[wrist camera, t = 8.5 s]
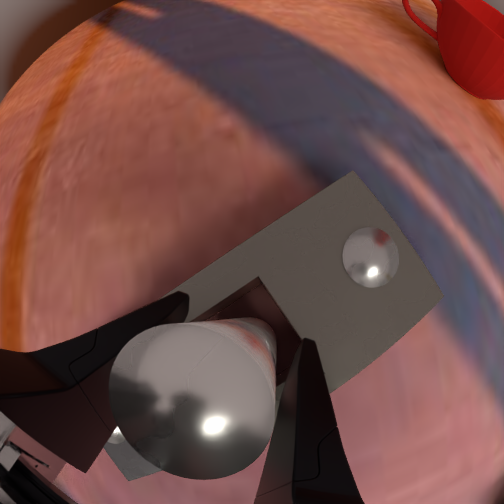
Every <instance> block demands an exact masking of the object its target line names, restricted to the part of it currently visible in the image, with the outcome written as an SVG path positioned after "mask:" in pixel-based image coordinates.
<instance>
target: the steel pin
mask: <svg viewBox="0 0 504 504" xmlns="http://www.w3.org/2000/svg"><path fill="white" fill-rule="evenodd" d="M276 345H277V341H276V336H275V333H274V331H273V329H272V328H271V327H270V326H269V325H268V324H267V323H266V322H265V321H263V320H261V319H259V318H255V317H244V318H234V319H224V320H213V321H202V322H189V323H176V324H165V325H160V326H156V327H153V328H150V329H148V330H145V331H143V332H142V333H140V334H138V335H136V336H135V337H134V338H133V339H131V340H130V341H129V342H128V343H127V344H126V345H125V346H124V347H123V348H122V350H121V351H120V353H119V354H118V356H117V358H116V360H115V362H114V364H113V367H112V370H111V373H110V379H109V402H110V406H111V411H112V414H113V417H114V419H115V422H116V424H117V426H118V428H119V430H120V431H121V433H122V435H123V436H124V438H125V439H126V440H127V442H128V443H129V444H130V446H131V447H132V448H133V449H134V450H135V451H136V452H137V453H138V454H139V455H141V456H142V457H143V458H144V459H145V460H147V461H148V462H150V463H151V464H153V465H154V466H156V467H158V468H160V469H162V470H164V471H166V472H168V473H171V474H173V475H177V476H180V477H184V478H190V479H200V480H208V479H217V478H222V477H226V476H229V475H232V474H235V473H237V472H239V471H241V470H243V469H245V468H246V467H247V466H249V465H250V464H252V463H253V462H254V461H255V460H256V459H257V458H258V457H259V456H260V455H261V453H262V452H263V451H264V449H265V448H266V446H267V444H268V442H269V440H270V437H271V434H272V431H273V427H274V421H275V391H276Z"/></svg>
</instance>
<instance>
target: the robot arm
mask: <svg viewBox="0 0 504 504" xmlns="http://www.w3.org/2000/svg"><path fill="white" fill-rule="evenodd" d="M189 300H190V297H189V295H188V294H187V293H184V292H182V291H176V292H174V293H172V294H170V295H168V296H166V297H163V298H161V299H159V300H157V301H155V302H153V303H150V304H148V305H146V306H144V307H142V308H140V309H138V310H135V311H133V312H131V313H129V314H127V315H125V316H122V317H120V318H118V319H116V320H114V321H112V322H109V323H107V324H105V325H103V326H101V327H99V328H98V329H97V328H96V329H94V330H92V331H90V332H87V333H85V334H83V335H80V336H78V337H76V338H73V339H70V340H67V341H65V342H62V343H59V344H56V345H53V346H50V347H46V348H43V349H40V350H37V351H33V352H16V351H10V350H5V349H0V504H78V503H76V502H75V501H74V500H72V499H71V498H70V497H68V496H67V495H66V494H64V493H63V492H62V491H61V490H59V489H58V488H57V487H56V486H54V485H53V484H52V483H53V482H54V480H55V479H56V477H57V476H58V474H59V473H60V471H61V470H62V468H63V467H64V465H65V464H66V462H67V463H69V464H70V465H72V466H74V467H75V468H77V469H79V470H80V471H82V472H84V473H86V472H87V471H88V470H89V468H90V467H91V465H92V464H93V462H94V461H95V459H96V458H97V456H98V455H99V453H100V452H101V450H102V449H103V447H104V446H105V444H106V443H107V441H108V440H109V438H110V437H111V435H112V433H113V432H114V430H115V429H116V427H117V424H116V422H115V419H114V417H113V414H112V411H111V406H110V402H109V379H110V373H111V370H112V367H113V364H114V362H115V360H116V358H117V356H118V354H119V353H120V351H121V350H122V348H123V347H124V346H125V345H126V344H127V343H128V342H129V341H130V340H131V339H133V338H134V337H135V336H136V335H138V334H140V333H142V332H143V331H145V330H148V329H150V328H153V327H156V326H160V325H165V324H176V323H184V321H185V319H186V318H187V315H188V312H189ZM254 504H365V503H364V502H363V500H362V498H361V496H360V493H359V491H358V488H357V485H356V483H355V480H354V477H353V475H352V472H351V469H350V467H349V464H348V461H347V458H346V455H345V452H344V449H343V445H342V442H341V438H340V434H339V429H338V427H337V422H336V418H335V413H334V409H333V405H332V401H331V398H330V394H329V390H328V386H327V382H326V378H325V374H324V371H323V367H322V363H321V359H320V356H319V352H318V348H317V345H316V342H315V341H314V340H312V339H309V338H306V337H305V338H303V339H302V341H301V343H300V345H299V347H298V349H297V351H296V353H295V356H294V359H293V362H292V365H291V368H290V371H289V374H288V376H287V379H286V382H285V385H284V388H283V391H282V394H281V398H280V403H279V407H278V412H277V416H276V420H275V425H274V429H273V433H272V437H271V441H270V445H269V449H268V453H267V457H266V461H265V465H264V469H263V473H262V476H261V480H260V484H259V487H258V491H257V494H256V498H255V501H254Z"/></svg>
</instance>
